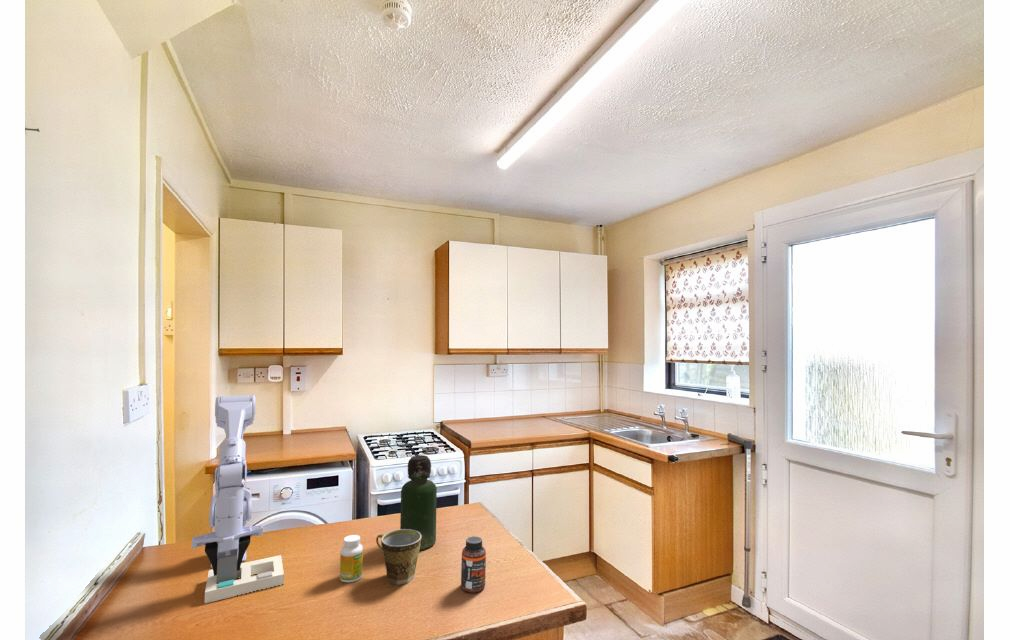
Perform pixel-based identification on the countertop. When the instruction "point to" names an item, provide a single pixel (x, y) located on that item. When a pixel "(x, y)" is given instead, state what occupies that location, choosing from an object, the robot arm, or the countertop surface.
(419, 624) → the countertop surface
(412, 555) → the ceramic cup
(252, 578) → the socket board
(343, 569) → the supplement bottle
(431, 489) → the green bottle
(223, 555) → the plug
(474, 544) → the supplement bottle
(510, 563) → the countertop surface
